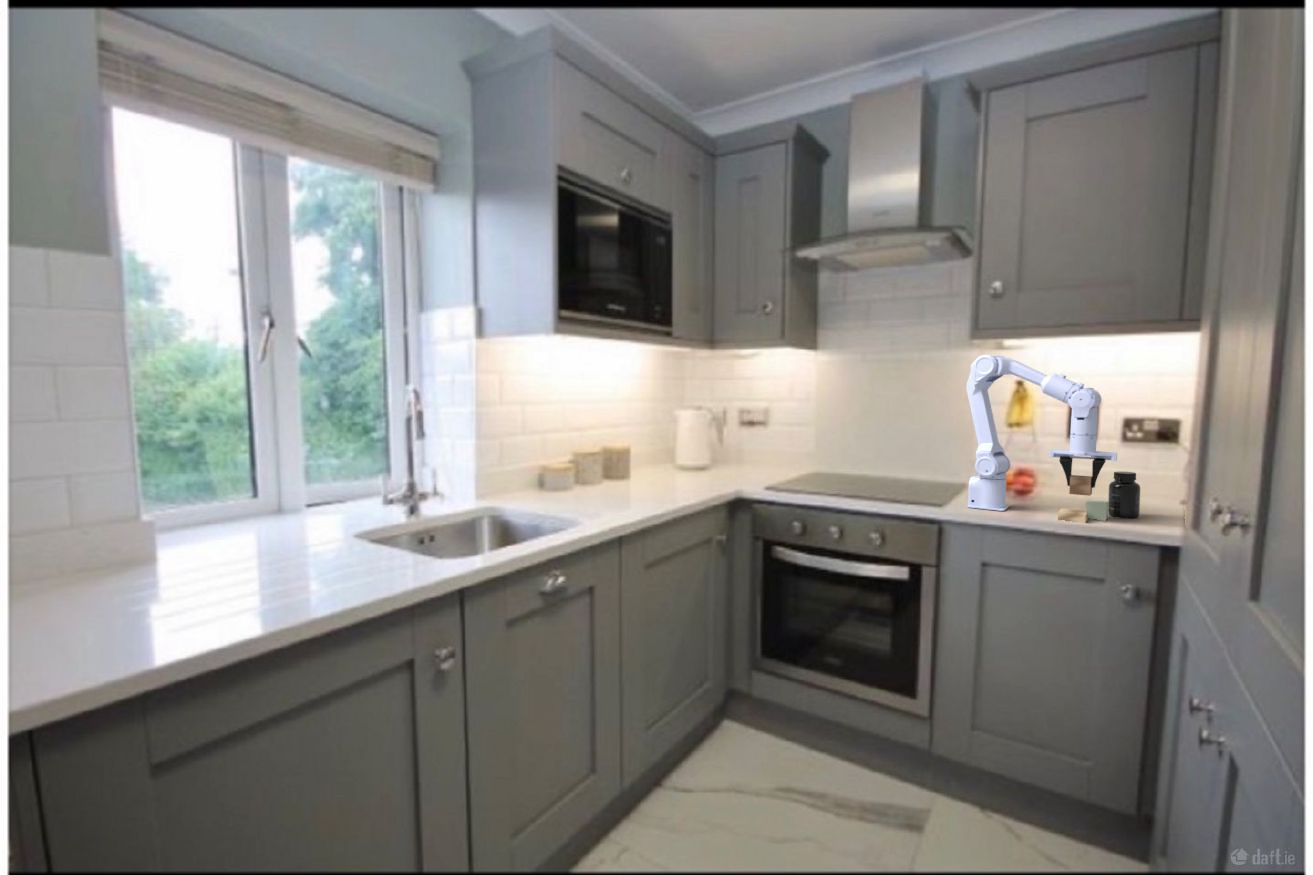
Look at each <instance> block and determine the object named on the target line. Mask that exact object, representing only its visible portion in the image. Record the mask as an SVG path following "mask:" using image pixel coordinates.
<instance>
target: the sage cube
mask: <svg viewBox="0 0 1313 875" xmlns="http://www.w3.org/2000/svg"><path fill="white" fill-rule="evenodd" d="M1085 511H1088V518H1089V519H1088V520H1093V519H1097V520H1096V521H1102V520H1104V521H1103V522H1106V521H1107V520H1106V519H1108V516H1109V514H1108V501H1104V500H1095V499H1087V500H1086V502H1085Z"/></svg>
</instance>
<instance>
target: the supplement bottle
mask: <svg viewBox="0 0 1313 875" xmlns="http://www.w3.org/2000/svg"><path fill="white" fill-rule="evenodd" d="M1113 479H1114V480H1113V481H1111V482H1110V483H1109V484H1108V499H1107V500H1108V501H1107V502H1108V516H1110V517H1113V518H1116V517H1118V519H1125V518H1127V519H1130V520H1131V519H1138V518H1139V517H1140V510H1141V509H1140V508H1141V486H1140V484H1139V483H1138V482H1136V481H1137V473H1136V472H1133V471H1114V472H1113Z"/></svg>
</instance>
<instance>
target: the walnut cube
mask: <svg viewBox="0 0 1313 875" xmlns="http://www.w3.org/2000/svg"><path fill="white" fill-rule="evenodd" d="M1071 475H1072V476H1071V477H1070V486H1069V495H1077V496H1086V497H1088V496H1089V497H1090V496H1091V495H1092V494H1093V488H1091V481H1092V475H1091V476H1090V475H1079V474H1078V475H1075V474H1071Z"/></svg>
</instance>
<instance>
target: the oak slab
mask: <svg viewBox="0 0 1313 875" xmlns="http://www.w3.org/2000/svg"><path fill="white" fill-rule="evenodd" d="M1061 520H1065V521H1064V522H1070V521H1072V522H1071V523H1082V524H1086V522H1087V521H1088V520H1089V519H1088V511H1086V510H1077V509H1069V508H1060V509H1059V511H1058V512H1057V521H1061Z"/></svg>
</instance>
